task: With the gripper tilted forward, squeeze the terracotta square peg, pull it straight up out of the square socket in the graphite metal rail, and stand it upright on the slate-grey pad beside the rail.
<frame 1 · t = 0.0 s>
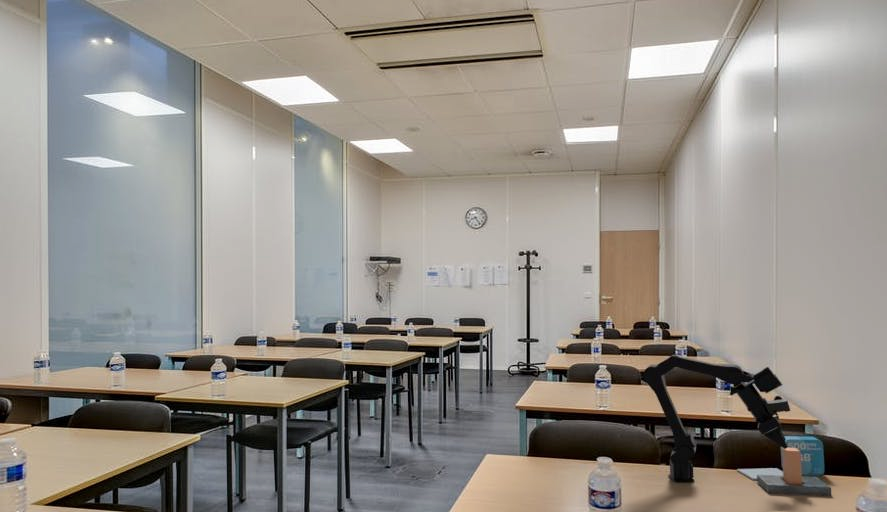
hand: (785, 444, 184), 15 cm above the table, tool tilted 35°, fingers open, 9 cm apart
data package: (803, 473, 201), on the table
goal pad: (764, 474, 200), on the table
socket rail: (793, 488, 186), on the table
peg: (792, 469, 186), in the socket rail
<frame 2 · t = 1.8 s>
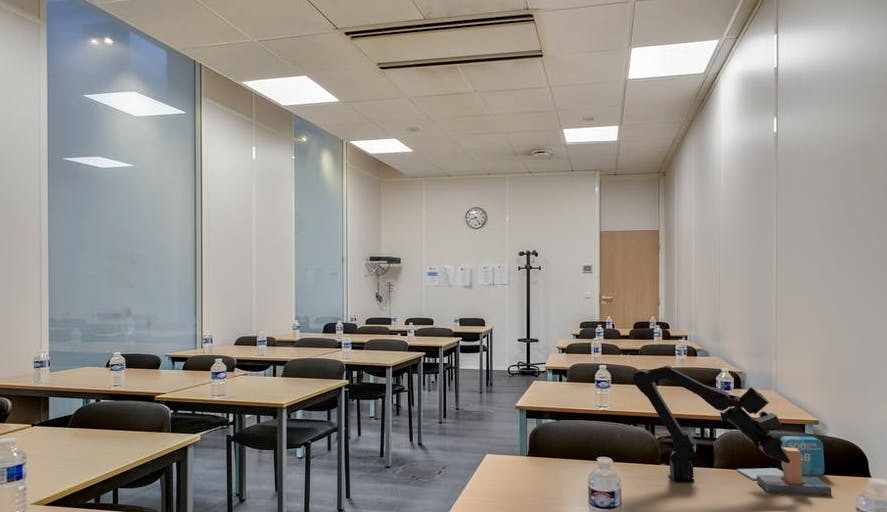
hand: (783, 458, 187), 10 cm above the table, tool tilted 45°, fingers open, 9 cm apart
nothing on the table moved.
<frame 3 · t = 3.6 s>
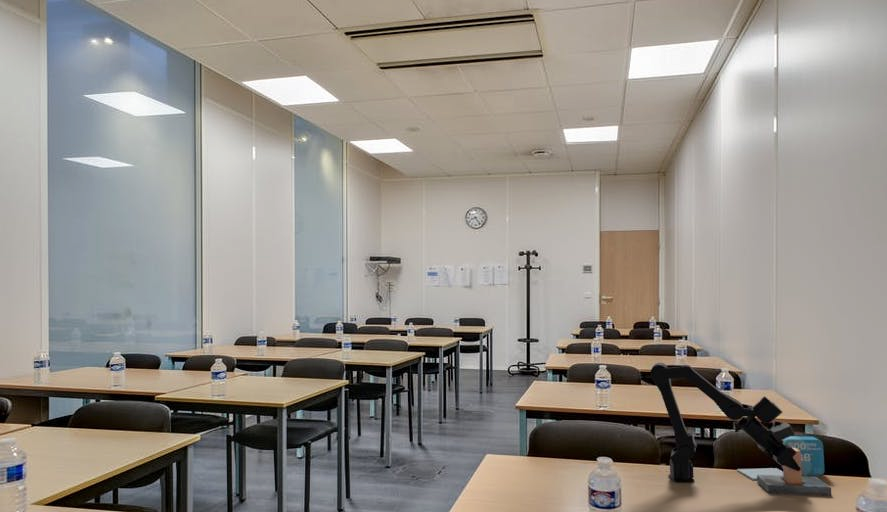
hand: (796, 468, 186), 7 cm above the table, tool tilted 45°, fingers closed on peg, 4 cm apart
peg: (792, 469, 186), in the socket rail, touching gripper
everything else where it was.
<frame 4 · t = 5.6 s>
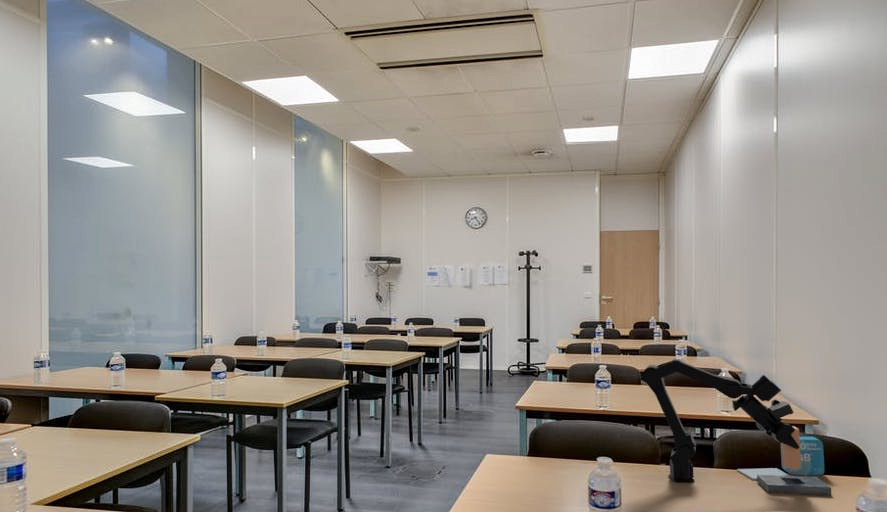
hand: (795, 446, 187), 13 cm above the table, tool tilted 45°, fingers closed on peg, 4 cm apart
peg: (790, 447, 187), point 13 cm above the table, touching gripper
everything else where it was.
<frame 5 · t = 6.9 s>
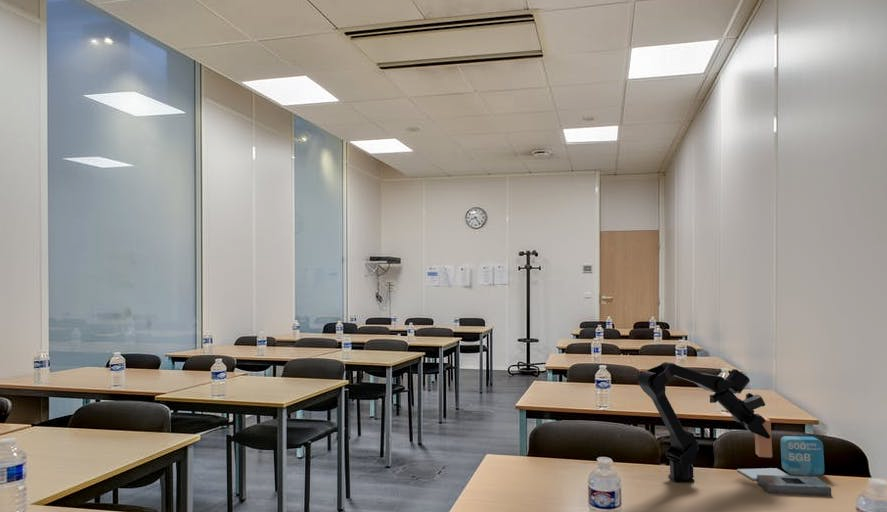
hand: (767, 436, 200), 13 cm above the table, tool tilted 45°, fingers closed on peg, 4 cm apart
peg: (763, 437, 201), point 13 cm above the table, touching gripper
everything else where it was.
when the fingers open (9 cm above the table, at t = 8.1 s): peg drops 2 cm, resting on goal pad.
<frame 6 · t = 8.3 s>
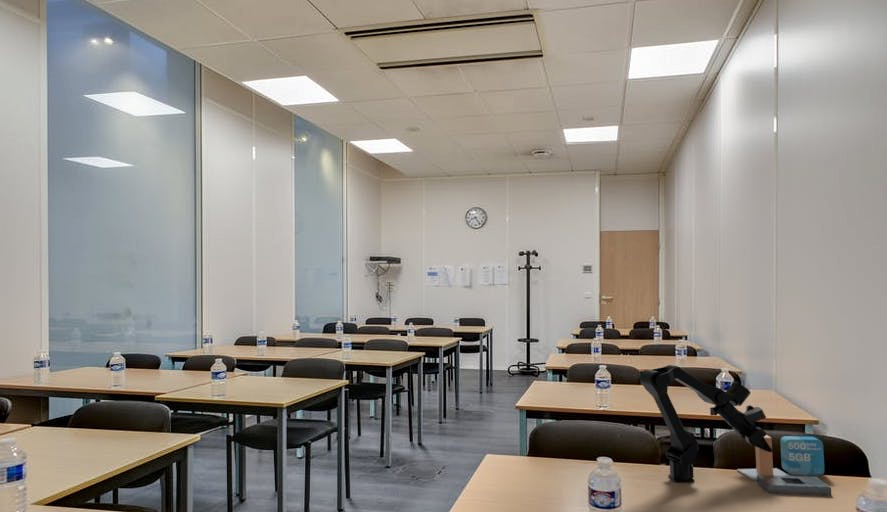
hand: (767, 448, 200), 9 cm above the table, tool tilted 45°, fingers open, 6 cm apart
peg: (763, 454, 200), on the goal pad, point 7 cm above the table
everything else where it was.
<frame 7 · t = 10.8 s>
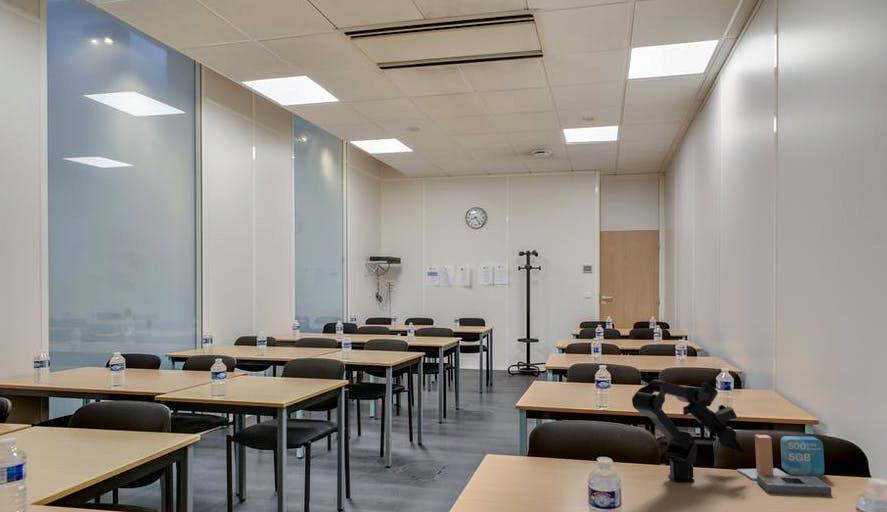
hand: (738, 448, 202), 9 cm above the table, tool tilted 45°, fingers open, 9 cm apart
nothing on the table moved.
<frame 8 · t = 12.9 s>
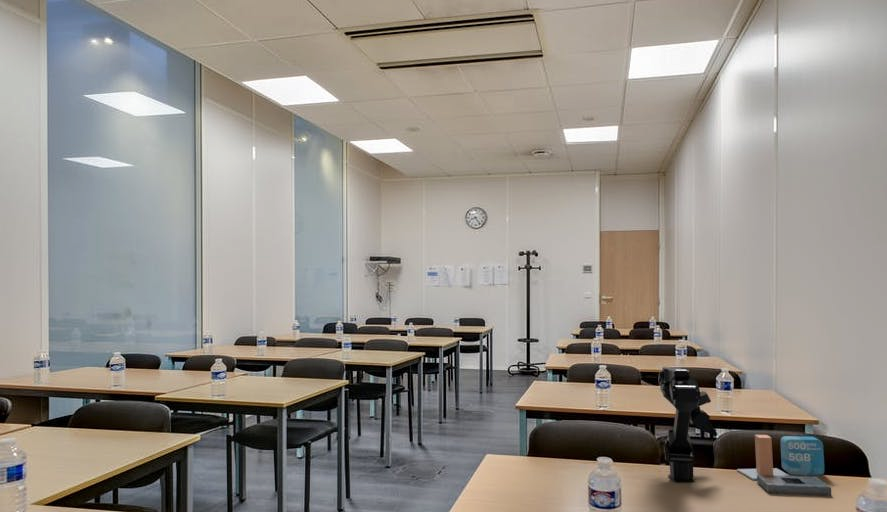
hand: (713, 431, 206), 14 cm above the table, tool tilted 45°, fingers open, 9 cm apart
nothing on the table moved.
at the end: peg inside the target area on the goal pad (0.0 cm from its centre), point 6.8 cm above the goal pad's base; peg tilted 0°; the gripper is holding nothing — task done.
